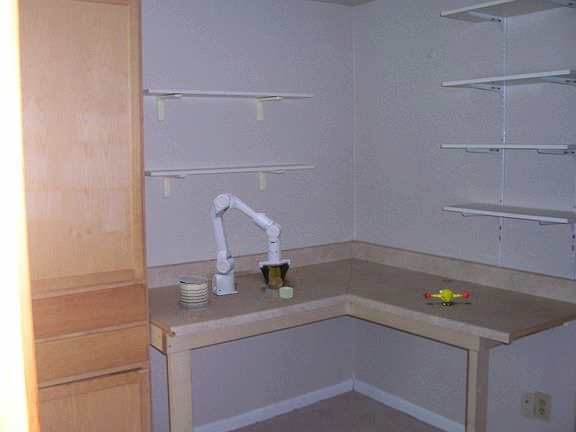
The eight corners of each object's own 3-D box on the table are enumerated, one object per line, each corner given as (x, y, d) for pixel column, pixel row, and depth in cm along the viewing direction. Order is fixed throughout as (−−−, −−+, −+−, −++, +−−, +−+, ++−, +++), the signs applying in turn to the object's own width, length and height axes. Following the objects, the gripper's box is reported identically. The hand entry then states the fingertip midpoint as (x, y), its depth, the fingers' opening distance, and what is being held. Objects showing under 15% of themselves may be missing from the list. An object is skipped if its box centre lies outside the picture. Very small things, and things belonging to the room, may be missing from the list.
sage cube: (286, 298, 269) (286, 289, 269) (279, 297, 272) (279, 288, 271) (292, 297, 272) (292, 288, 271) (286, 295, 275) (286, 286, 274)
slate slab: (272, 297, 272) (272, 291, 271) (265, 295, 277) (265, 288, 276) (284, 295, 275) (284, 289, 275) (276, 293, 280) (276, 286, 280)
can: (194, 302, 263) (193, 274, 262) (214, 306, 257) (213, 277, 256) (174, 308, 254) (173, 279, 253) (195, 312, 248) (194, 282, 246)
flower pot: (277, 287, 289) (276, 268, 288) (262, 285, 294) (262, 266, 293) (288, 284, 296) (288, 265, 295) (274, 282, 301) (273, 263, 300)
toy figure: (466, 303, 258) (467, 287, 257) (470, 307, 253) (471, 290, 252) (422, 304, 258) (422, 287, 257) (425, 307, 253) (425, 290, 252)
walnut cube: (273, 290, 272) (272, 280, 272) (268, 288, 276) (268, 278, 276) (282, 289, 275) (282, 279, 274) (277, 287, 279) (277, 277, 278)
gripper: (263, 254, 267) (263, 285, 268) (293, 251, 274) (293, 281, 275) (256, 251, 273) (256, 282, 275) (285, 248, 280) (286, 278, 281)
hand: (274, 282), depth 275 cm, fingers open, 7 cm apart
